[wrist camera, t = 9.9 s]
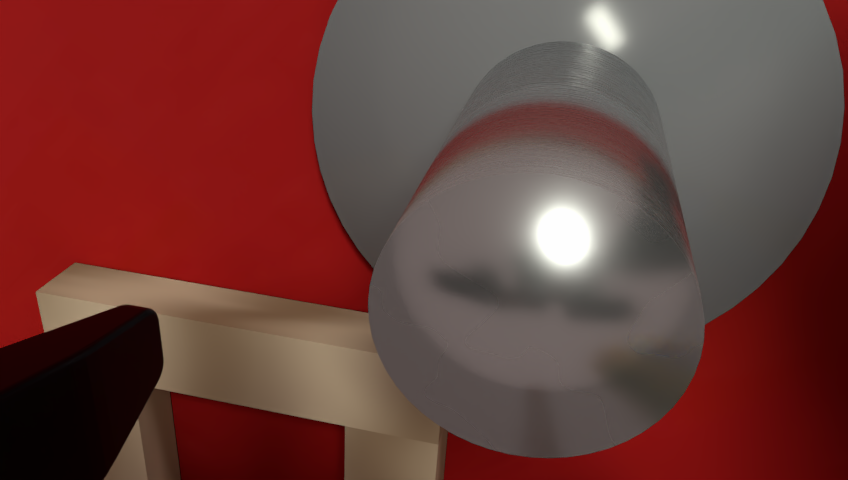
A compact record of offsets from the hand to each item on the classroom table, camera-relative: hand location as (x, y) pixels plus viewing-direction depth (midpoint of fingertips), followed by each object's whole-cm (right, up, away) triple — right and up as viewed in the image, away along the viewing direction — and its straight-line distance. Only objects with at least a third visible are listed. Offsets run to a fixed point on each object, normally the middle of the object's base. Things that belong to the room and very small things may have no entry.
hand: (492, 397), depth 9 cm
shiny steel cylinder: (+2, +4, +8) cm, 9 cm away
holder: (-6, -5, +16) cm, 17 cm away
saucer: (+2, +4, +9) cm, 10 cm away
